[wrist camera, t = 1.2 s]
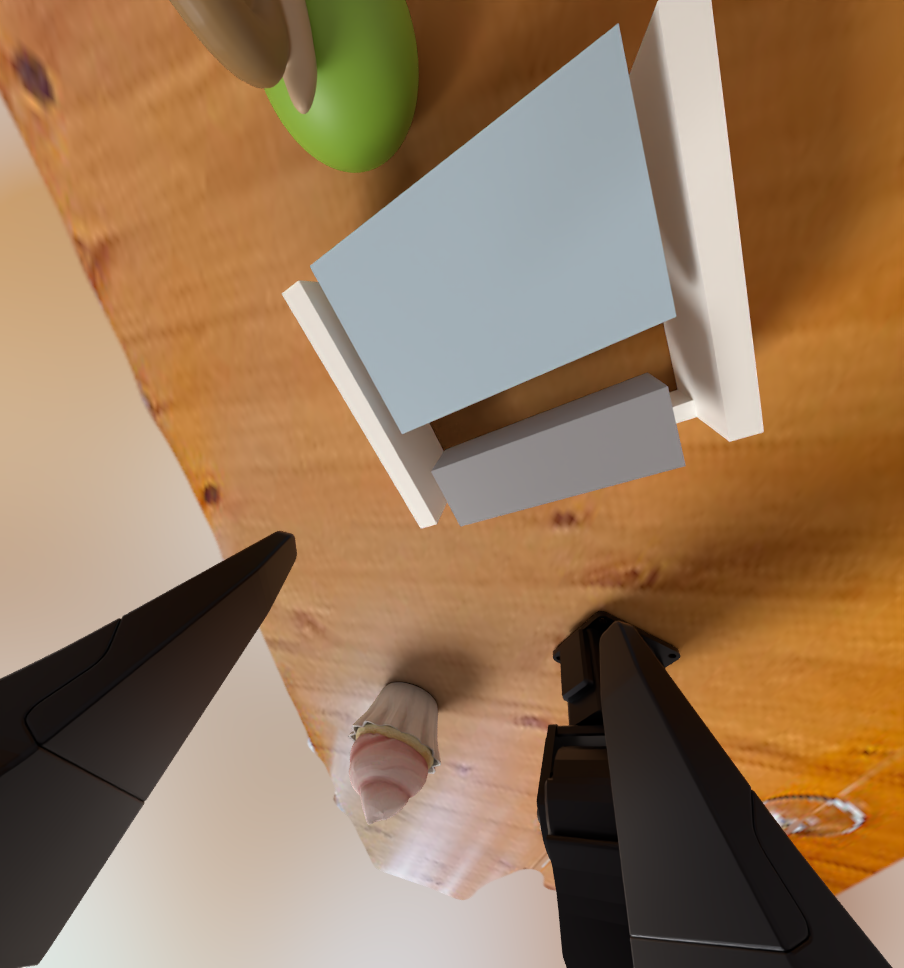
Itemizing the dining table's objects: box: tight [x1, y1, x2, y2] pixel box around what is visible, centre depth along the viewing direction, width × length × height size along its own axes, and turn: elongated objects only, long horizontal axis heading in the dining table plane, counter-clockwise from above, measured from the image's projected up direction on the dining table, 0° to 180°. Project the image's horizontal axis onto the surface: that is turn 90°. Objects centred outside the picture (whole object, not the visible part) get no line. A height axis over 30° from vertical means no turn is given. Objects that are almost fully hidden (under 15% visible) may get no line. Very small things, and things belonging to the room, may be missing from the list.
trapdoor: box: [310, 23, 685, 526], centre depth 12 cm, size 11×12×2 cm
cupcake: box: [349, 682, 441, 824], centre depth 32 cm, size 9×9×10 cm
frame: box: [282, 0, 764, 528], centre depth 15 cm, size 14×12×5 cm
